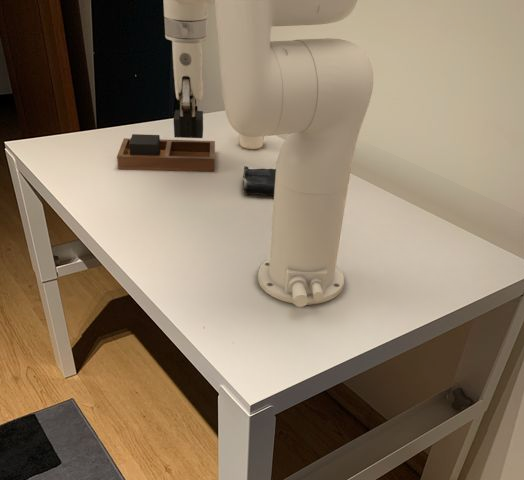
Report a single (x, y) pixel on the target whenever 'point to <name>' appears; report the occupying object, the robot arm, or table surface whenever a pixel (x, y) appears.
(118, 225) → the table surface
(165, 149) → the wooden tray
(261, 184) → the electronic device
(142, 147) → the pad left
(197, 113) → the pad right
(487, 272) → the table surface
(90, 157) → the table surface
